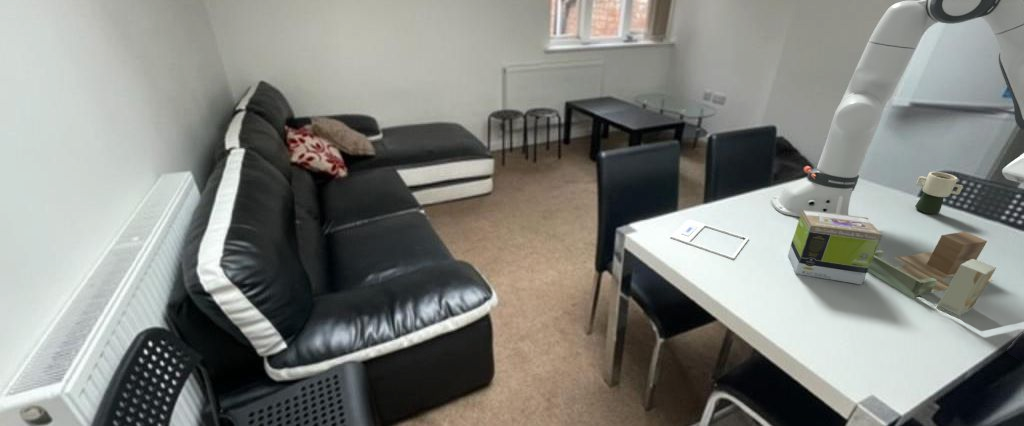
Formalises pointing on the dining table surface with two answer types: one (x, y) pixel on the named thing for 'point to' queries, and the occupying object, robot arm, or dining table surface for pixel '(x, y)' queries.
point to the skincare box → (966, 287)
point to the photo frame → (694, 228)
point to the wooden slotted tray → (910, 274)
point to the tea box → (833, 246)
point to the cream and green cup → (936, 191)
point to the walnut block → (955, 251)
